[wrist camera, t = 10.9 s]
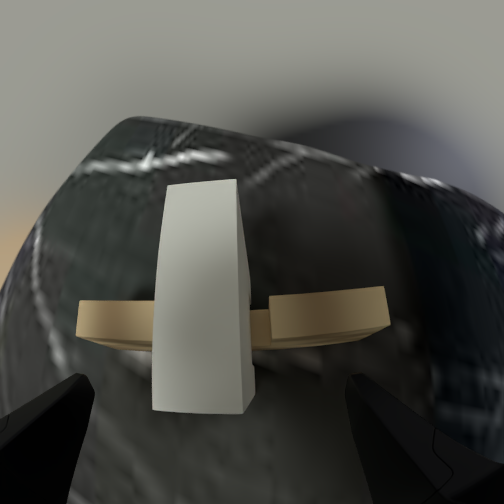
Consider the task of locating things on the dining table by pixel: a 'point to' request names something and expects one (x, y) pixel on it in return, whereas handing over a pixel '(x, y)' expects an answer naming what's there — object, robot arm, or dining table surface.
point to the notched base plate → (251, 320)
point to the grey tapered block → (202, 303)
